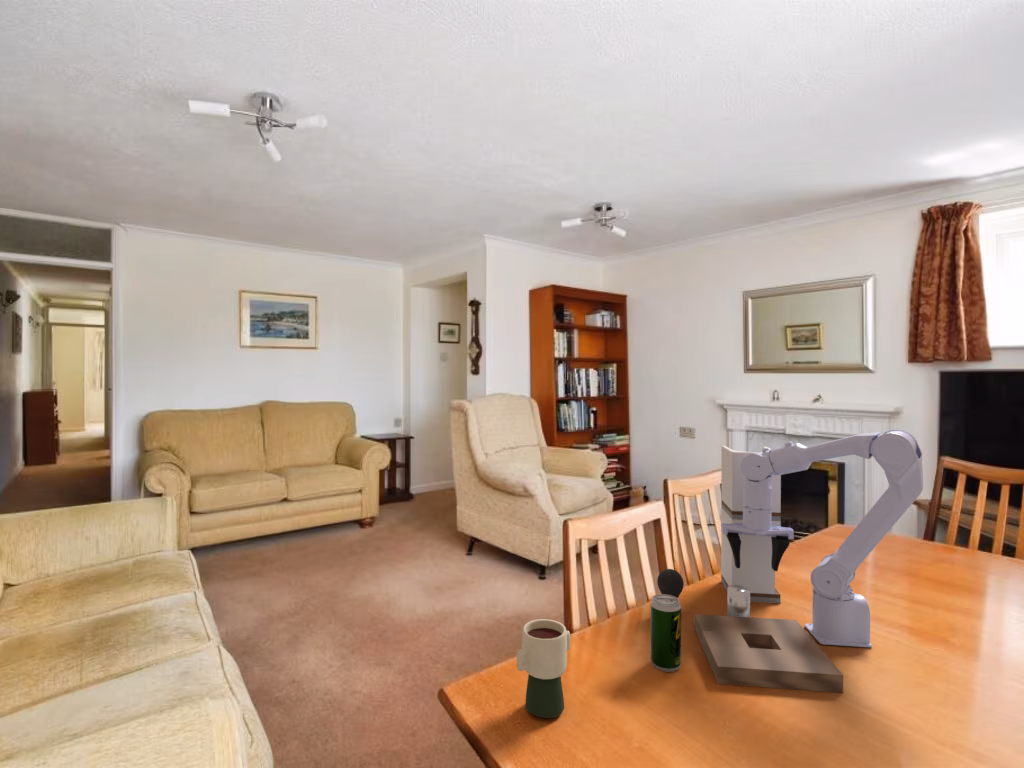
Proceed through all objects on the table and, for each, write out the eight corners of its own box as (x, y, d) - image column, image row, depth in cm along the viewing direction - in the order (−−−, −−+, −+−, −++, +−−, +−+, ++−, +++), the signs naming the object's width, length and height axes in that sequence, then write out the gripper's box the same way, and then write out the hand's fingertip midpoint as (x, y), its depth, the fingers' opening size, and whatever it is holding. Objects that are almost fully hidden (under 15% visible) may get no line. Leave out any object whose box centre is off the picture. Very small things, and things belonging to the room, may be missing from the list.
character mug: (555, 686, 90) (554, 611, 90) (585, 707, 84) (584, 627, 84) (503, 711, 84) (503, 630, 83) (532, 736, 78) (532, 649, 78)
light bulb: (685, 621, 114) (685, 575, 114) (658, 619, 115) (658, 573, 115) (682, 609, 119) (682, 566, 119) (656, 607, 120) (656, 564, 120)
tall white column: (780, 603, 122) (780, 453, 122) (732, 600, 124) (732, 452, 124) (765, 584, 134) (765, 446, 133) (721, 581, 136) (721, 445, 135)
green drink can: (649, 670, 95) (649, 604, 95) (651, 654, 100) (651, 592, 100) (681, 674, 94) (681, 607, 93) (681, 659, 99) (681, 595, 98)
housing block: (796, 634, 108) (796, 619, 108) (843, 692, 88) (843, 675, 88) (694, 628, 111) (694, 614, 111) (717, 683, 91) (717, 666, 91)
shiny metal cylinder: (746, 617, 116) (746, 585, 116) (752, 626, 111) (753, 593, 111) (724, 615, 116) (725, 584, 116) (730, 625, 112) (730, 592, 112)
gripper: (725, 509, 114) (724, 571, 114) (799, 514, 111) (797, 577, 111) (719, 501, 121) (718, 560, 121) (788, 505, 118) (787, 565, 118)
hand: (755, 568), depth 117 cm, fingers open, 7 cm apart
